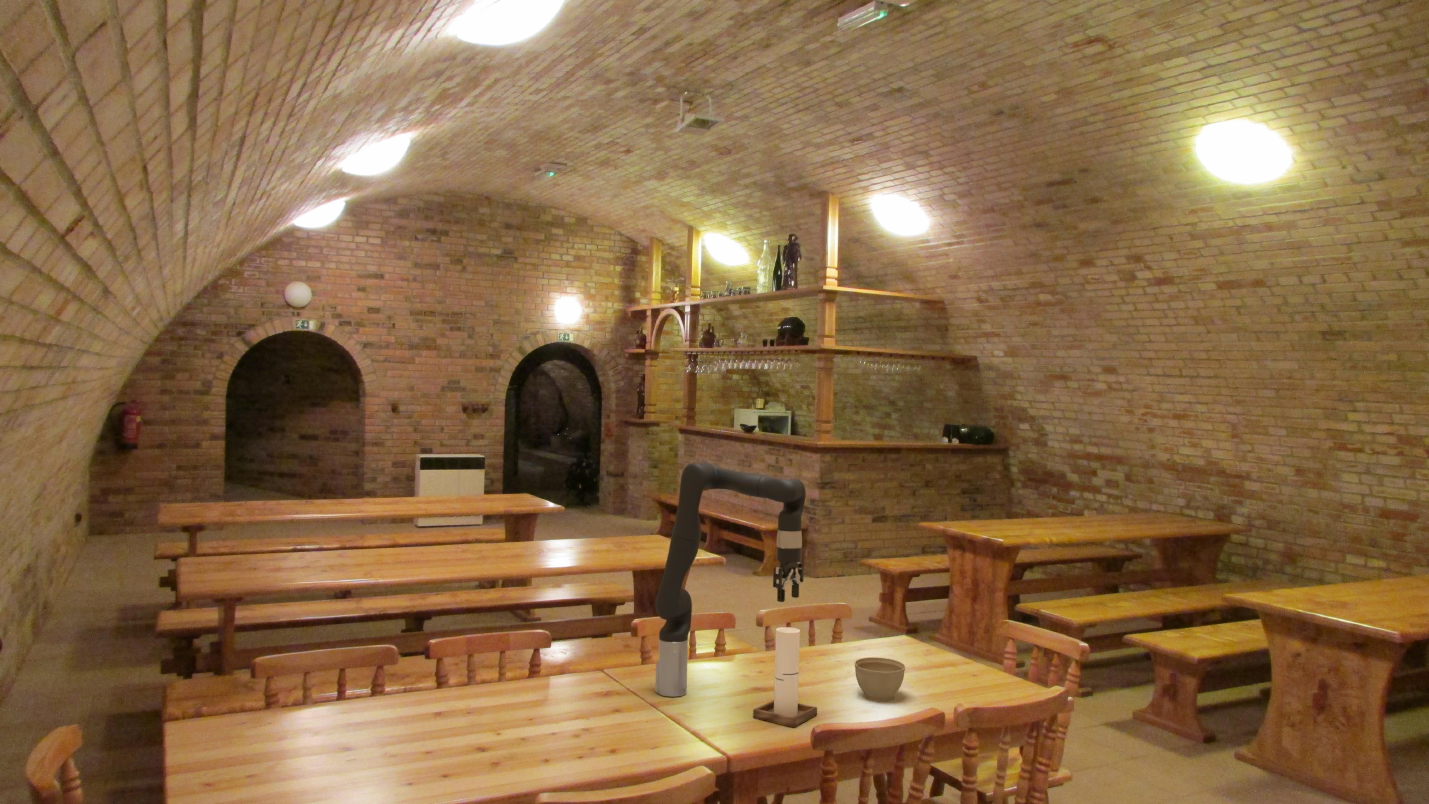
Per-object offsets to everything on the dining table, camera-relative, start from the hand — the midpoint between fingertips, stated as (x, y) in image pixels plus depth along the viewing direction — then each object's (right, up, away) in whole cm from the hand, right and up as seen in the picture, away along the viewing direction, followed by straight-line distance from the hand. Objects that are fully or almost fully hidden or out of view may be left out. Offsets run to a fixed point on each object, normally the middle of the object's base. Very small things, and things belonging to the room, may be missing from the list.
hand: (788, 599), depth 290 cm
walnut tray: (-1, -35, 0) cm, 35 cm away
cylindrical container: (-1, -34, 0) cm, 34 cm away
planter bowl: (+31, -36, +22) cm, 52 cm away
